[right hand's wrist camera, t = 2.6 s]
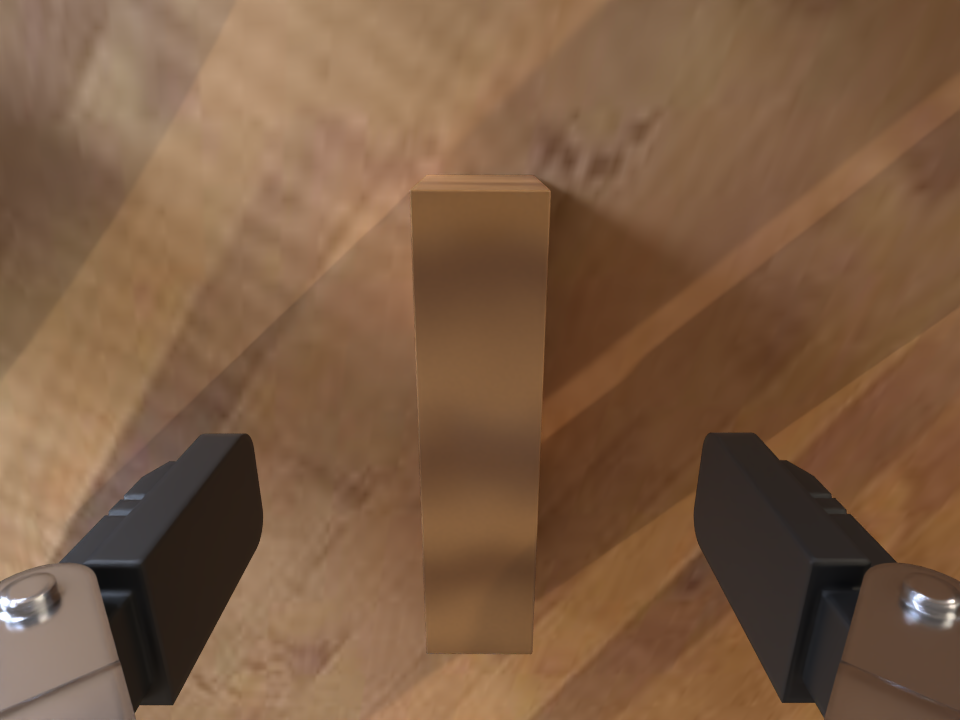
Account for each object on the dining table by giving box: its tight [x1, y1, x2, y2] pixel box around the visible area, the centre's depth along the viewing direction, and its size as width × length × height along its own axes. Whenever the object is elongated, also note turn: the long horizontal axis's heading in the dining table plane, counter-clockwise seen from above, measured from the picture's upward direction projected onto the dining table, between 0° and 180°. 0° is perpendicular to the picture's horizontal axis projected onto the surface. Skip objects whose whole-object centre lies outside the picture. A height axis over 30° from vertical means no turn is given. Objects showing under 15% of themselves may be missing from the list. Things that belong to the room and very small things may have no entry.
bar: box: [410, 175, 551, 654], centre depth 33 cm, size 24×6×8 cm, turn 0°
